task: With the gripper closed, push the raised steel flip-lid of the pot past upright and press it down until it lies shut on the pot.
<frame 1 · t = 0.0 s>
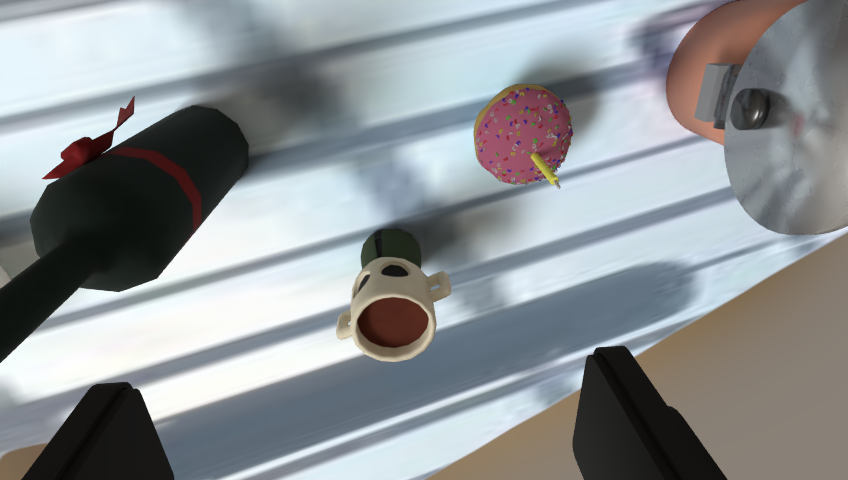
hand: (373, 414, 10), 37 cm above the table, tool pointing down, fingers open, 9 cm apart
pot: (729, 71, 44), on the table
wine bottle: (196, 138, 43), on the table
cupcake: (509, 123, 45), on the table
character mug: (391, 251, 50), on the table
lid: (785, 118, 28), point 18 cm above the table, hinge at 95.0°
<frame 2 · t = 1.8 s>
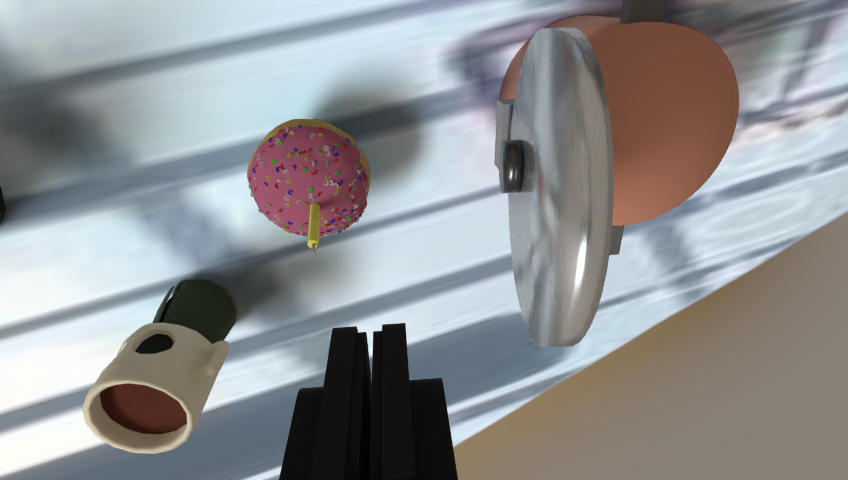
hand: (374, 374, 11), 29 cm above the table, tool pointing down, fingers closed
pot: (574, 99, 37), on the table
cupcake: (317, 160, 38), on the table
character mug: (203, 304, 43), on the table
lid: (531, 186, 21), point 18 cm above the table, hinge at 95.0°
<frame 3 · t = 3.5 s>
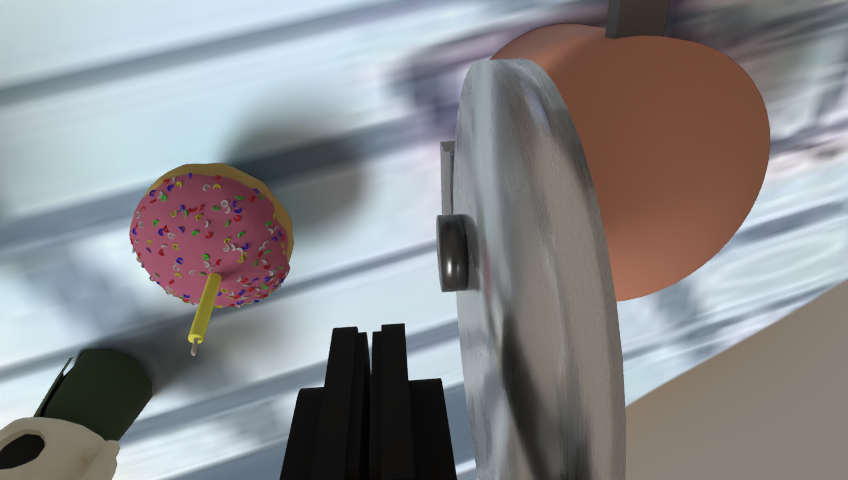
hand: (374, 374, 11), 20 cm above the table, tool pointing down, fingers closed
pot: (554, 128, 30), on the table
cupcake: (237, 207, 31), on the table
character mug: (114, 374, 36), on the table
lid: (479, 297, 14), point 18 cm above the table, hinge at 91.1°, touching gripper
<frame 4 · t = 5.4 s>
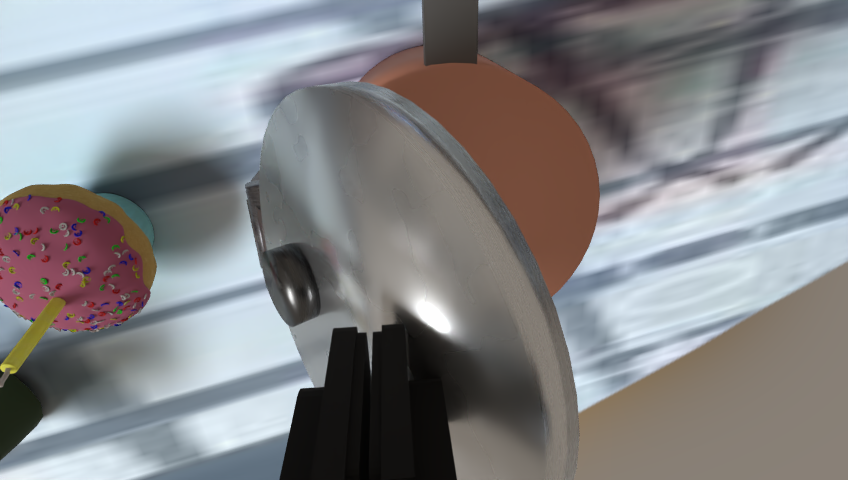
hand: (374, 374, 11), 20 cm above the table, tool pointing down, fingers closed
pot: (435, 150, 29), on the table
cupcake: (114, 226, 30), on the table
character mug: (5, 393, 35), on the table
lid: (345, 316, 14), point 17 cm above the table, hinge at 55.1°, touching gripper
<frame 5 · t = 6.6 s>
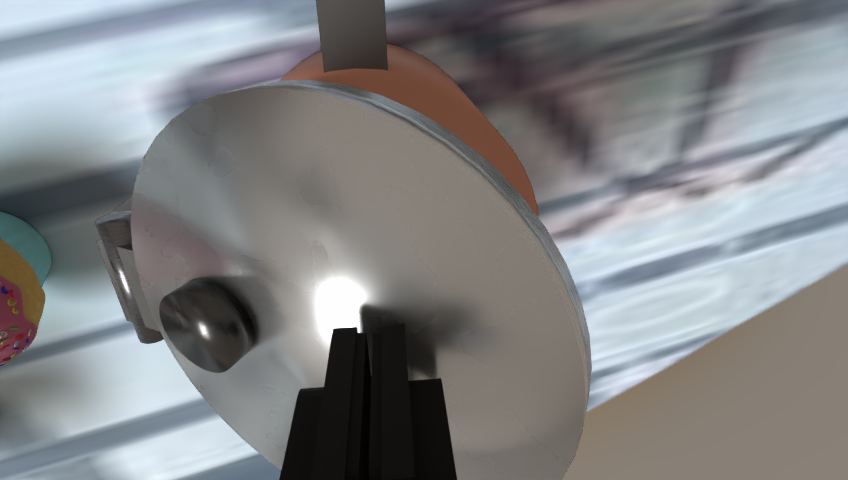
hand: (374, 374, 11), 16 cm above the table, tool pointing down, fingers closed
pot: (371, 161, 26), on the table
cupcake: (3, 247, 26), on the table
lid: (297, 339, 13), point 15 cm above the table, hinge at 28.9°, touching gripper
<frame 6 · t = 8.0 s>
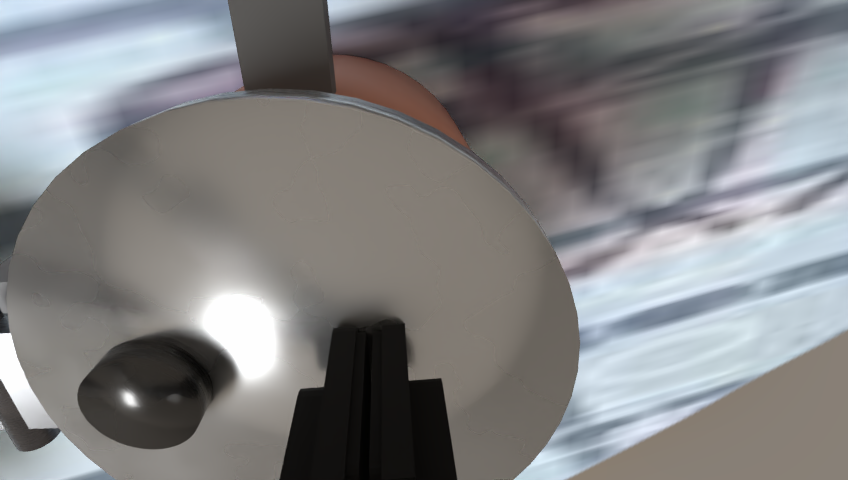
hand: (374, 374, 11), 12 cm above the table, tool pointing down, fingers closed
pot: (343, 193, 22), on the table
lid: (271, 376, 11), point 12 cm above the table, hinge at 3.6°, touching gripper
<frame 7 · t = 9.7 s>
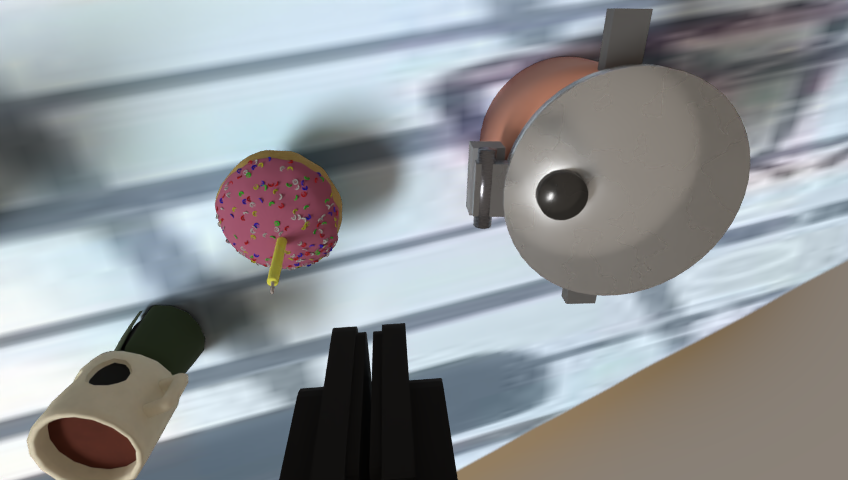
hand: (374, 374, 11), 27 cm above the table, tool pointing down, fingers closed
pot: (557, 139, 36), on the table
cupcake: (293, 190, 37), on the table
character mug: (172, 329, 42), on the table
lid: (608, 192, 26), point 12 cm above the table, hinge at 3.6°
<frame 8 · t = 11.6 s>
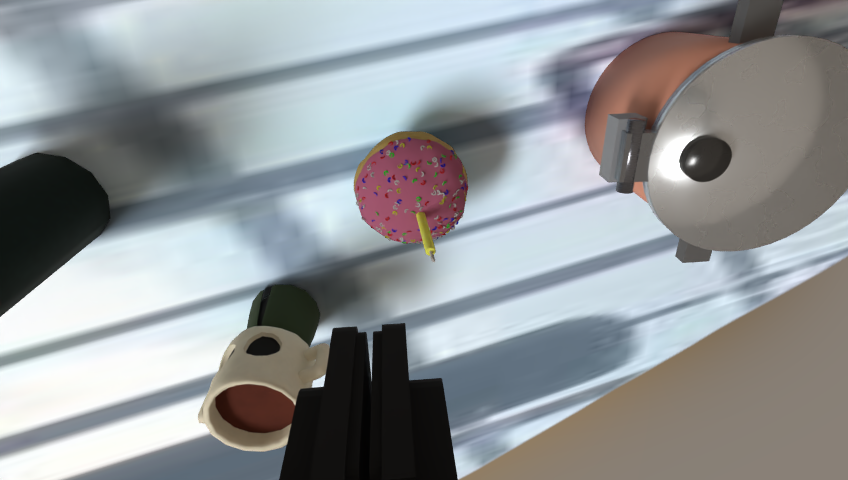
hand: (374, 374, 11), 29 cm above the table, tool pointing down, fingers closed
pot: (657, 111, 39), on the table
wine bottle: (46, 188, 38), on the table
cupcake: (408, 170, 40), on the table
character mug: (287, 308, 45), on the table
lid: (745, 154, 28), point 12 cm above the table, hinge at 3.6°
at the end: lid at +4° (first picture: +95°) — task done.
